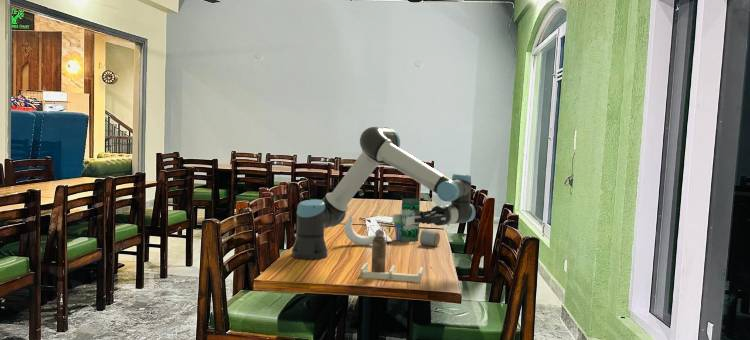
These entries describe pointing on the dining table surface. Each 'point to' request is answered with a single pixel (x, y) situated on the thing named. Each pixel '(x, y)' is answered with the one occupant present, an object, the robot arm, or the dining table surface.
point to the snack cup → (397, 230)
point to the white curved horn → (355, 237)
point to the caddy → (391, 274)
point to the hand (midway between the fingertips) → (400, 219)
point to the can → (408, 210)
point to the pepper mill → (378, 252)
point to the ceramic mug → (429, 238)
